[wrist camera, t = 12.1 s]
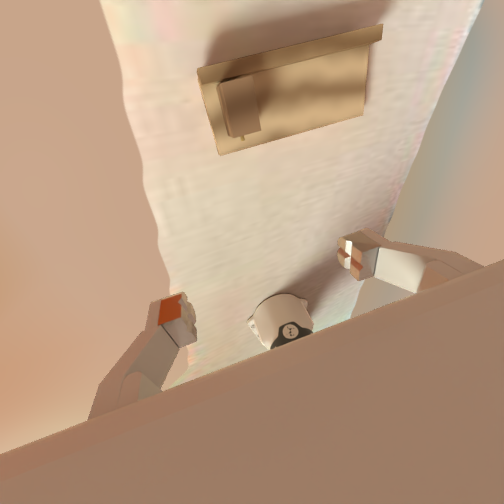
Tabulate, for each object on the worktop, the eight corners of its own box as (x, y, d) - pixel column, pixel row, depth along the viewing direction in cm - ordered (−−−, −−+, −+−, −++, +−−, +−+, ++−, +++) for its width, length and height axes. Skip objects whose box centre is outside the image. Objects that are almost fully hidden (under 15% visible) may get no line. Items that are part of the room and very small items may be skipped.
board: (355, 115, 38) (373, 114, 34) (218, 154, 35) (222, 158, 32) (361, 33, 32) (383, 23, 28) (196, 74, 29) (197, 68, 26)
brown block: (253, 136, 34) (262, 139, 29) (229, 143, 33) (235, 146, 29) (243, 81, 29) (252, 75, 25) (216, 87, 29) (221, 83, 25)
